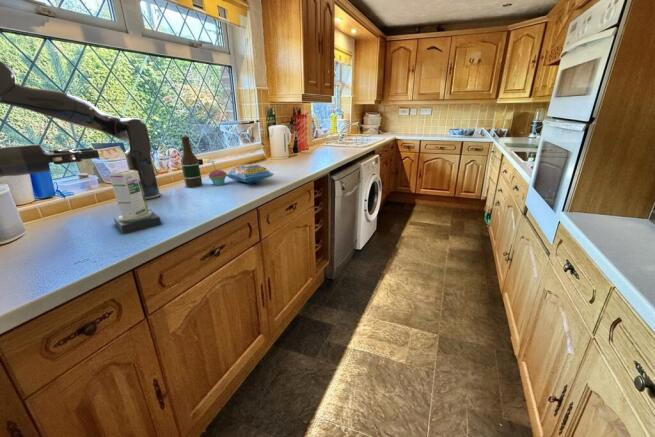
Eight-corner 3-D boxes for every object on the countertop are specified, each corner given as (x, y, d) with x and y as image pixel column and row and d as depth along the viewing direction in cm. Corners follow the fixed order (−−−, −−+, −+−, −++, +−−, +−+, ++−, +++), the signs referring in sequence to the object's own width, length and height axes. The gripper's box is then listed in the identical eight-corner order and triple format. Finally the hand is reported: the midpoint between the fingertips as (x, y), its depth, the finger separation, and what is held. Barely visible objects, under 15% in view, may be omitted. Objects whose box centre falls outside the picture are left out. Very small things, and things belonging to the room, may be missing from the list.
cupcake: (206, 185, 150) (202, 161, 146) (218, 181, 158) (214, 158, 154) (220, 186, 147) (216, 162, 143) (231, 182, 155) (228, 159, 151)
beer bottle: (205, 184, 153) (197, 135, 144) (193, 188, 146) (183, 137, 138) (194, 183, 156) (185, 135, 148) (182, 187, 149) (171, 137, 141)
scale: (115, 224, 102) (112, 215, 101) (151, 216, 109) (149, 207, 108) (123, 233, 94) (120, 223, 92) (161, 224, 101) (159, 214, 99)
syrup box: (135, 217, 97) (123, 173, 92) (120, 217, 99) (107, 173, 94) (149, 212, 103) (138, 169, 98) (134, 211, 104) (123, 169, 99)
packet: (245, 189, 141) (243, 171, 138) (226, 181, 158) (223, 165, 155) (277, 183, 151) (276, 166, 148) (256, 176, 168) (254, 160, 165)
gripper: (16, 148, 75) (96, 141, 85) (17, 144, 84) (88, 138, 95) (28, 177, 77) (104, 167, 87) (28, 170, 87) (96, 162, 97)
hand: (96, 152), depth 91 cm, fingers open, 8 cm apart
